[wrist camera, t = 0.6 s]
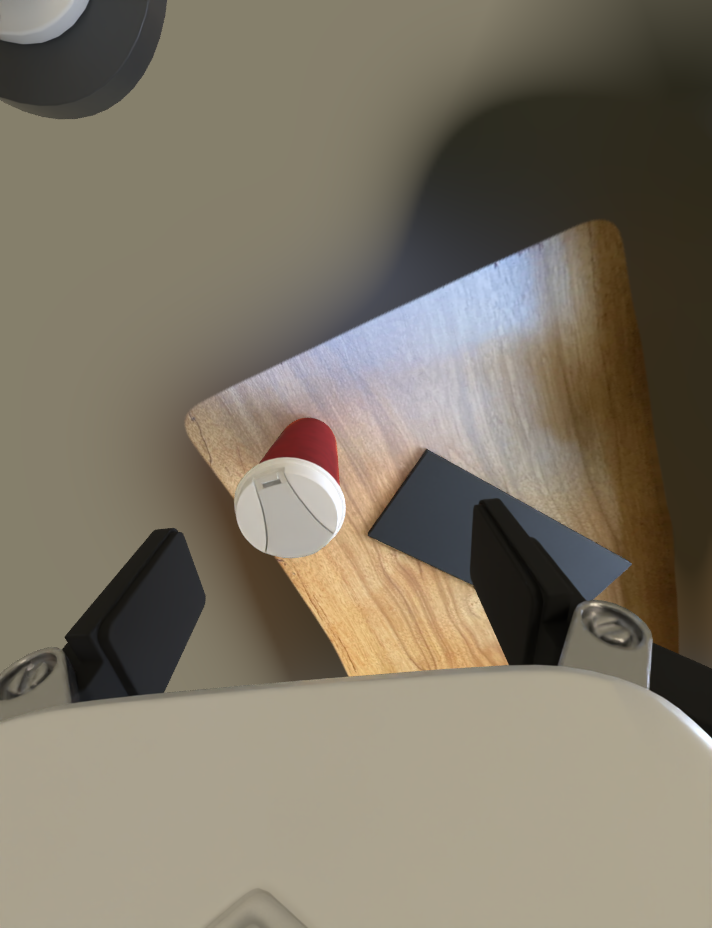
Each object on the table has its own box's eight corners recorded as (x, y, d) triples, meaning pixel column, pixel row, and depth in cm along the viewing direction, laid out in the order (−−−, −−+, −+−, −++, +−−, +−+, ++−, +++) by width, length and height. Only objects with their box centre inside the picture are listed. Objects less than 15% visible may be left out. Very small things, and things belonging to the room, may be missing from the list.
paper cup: (258, 420, 35) (207, 485, 22) (332, 396, 34) (322, 450, 21) (288, 486, 38) (258, 577, 25) (356, 466, 37) (360, 550, 24)
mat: (367, 532, 41) (367, 535, 40) (426, 448, 37) (427, 450, 36) (560, 623, 47) (562, 627, 47) (628, 561, 43) (632, 564, 43)
